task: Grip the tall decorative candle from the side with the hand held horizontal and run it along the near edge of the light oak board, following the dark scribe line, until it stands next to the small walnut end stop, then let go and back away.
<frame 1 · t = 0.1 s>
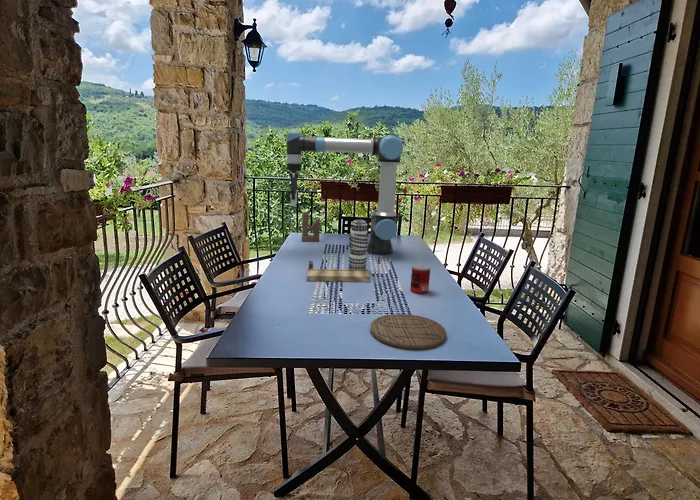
hand: (293, 204, 230), 28 cm above the table, tool pointing down, fingers open, 13 cm apart
oak board: (337, 277, 201), on the table
walnut end stop: (310, 270, 211), on the table
canned food: (419, 291, 188), on the table
decorative candle: (357, 271, 213), on the table
trivet: (407, 334, 146), on the table
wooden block: (310, 241, 271), on the table
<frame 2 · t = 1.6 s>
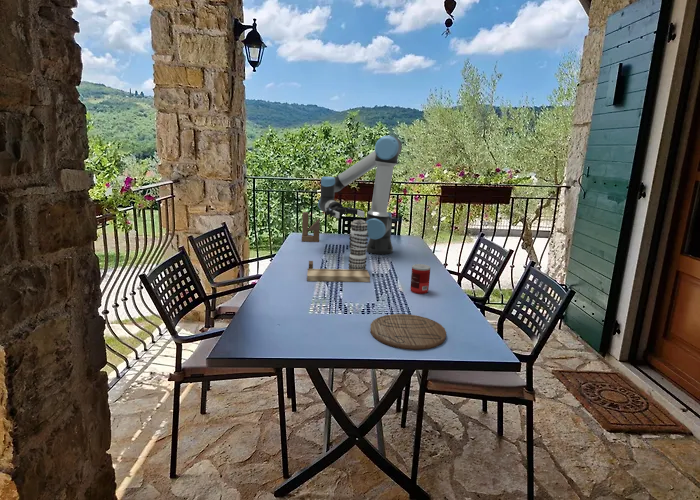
hand: (351, 215, 215), 26 cm above the table, tool horizontal, fingers open, 13 cm apart
nothing on the table moved.
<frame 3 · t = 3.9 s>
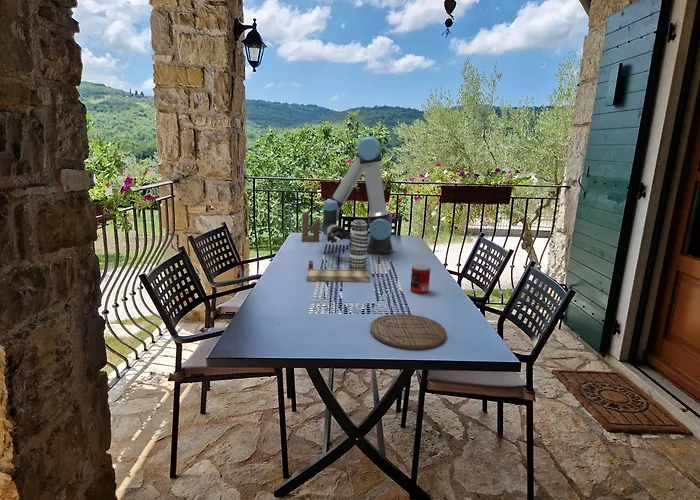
hand: (352, 241, 212), 14 cm above the table, tool horizontal, fingers open, 13 cm apart
nothing on the table moved.
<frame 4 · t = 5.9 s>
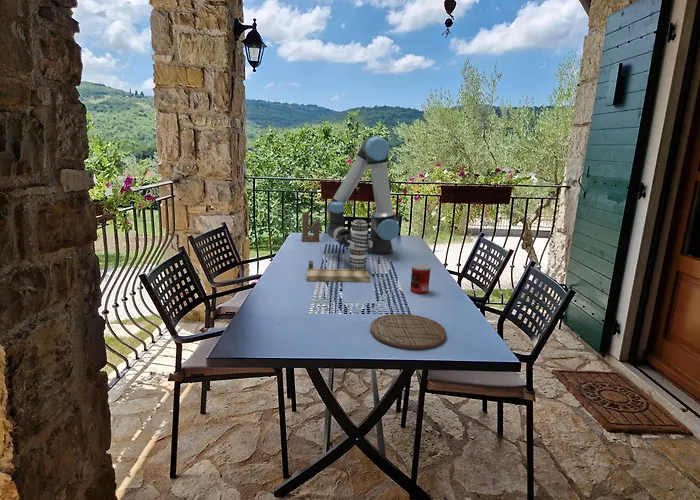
hand: (362, 245, 205), 14 cm above the table, tool horizontal, fingers closed on decorative candle, 9 cm apart
decorative candle: (357, 271, 213), on the table, touching gripper
everything else where it was.
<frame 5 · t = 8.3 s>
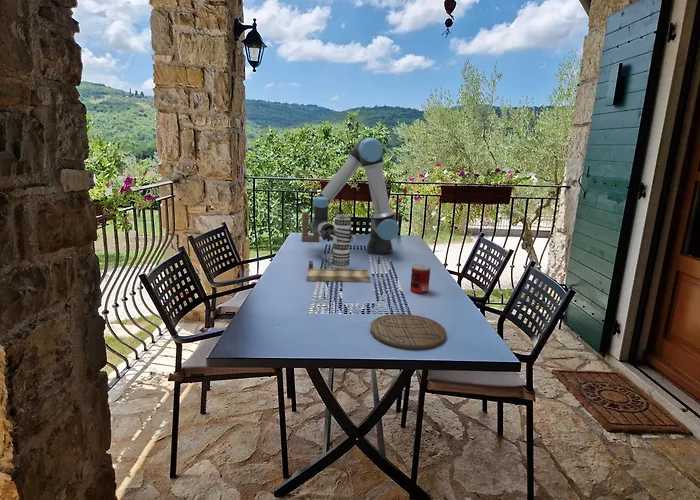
hand: (345, 239, 204), 16 cm above the table, tool horizontal, fingers closed on decorative candle, 9 cm apart
decorative candle: (340, 266, 211), point 2 cm above the table, touching gripper
everything else where it was.
when the fingers open (15 cm above the table, at t = 10.7 s): decorative candle stays where it is, on the table.
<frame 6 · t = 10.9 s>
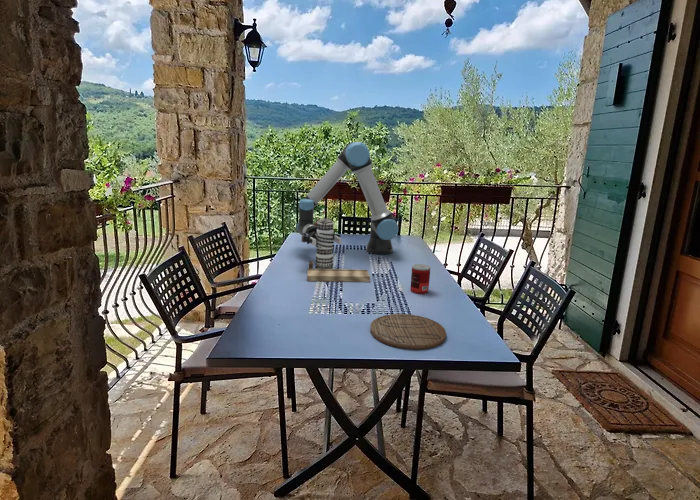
hand: (328, 242, 204), 15 cm above the table, tool horizontal, fingers open, 12 cm apart
decorative candle: (324, 271, 211), on the table
everything else where it was.
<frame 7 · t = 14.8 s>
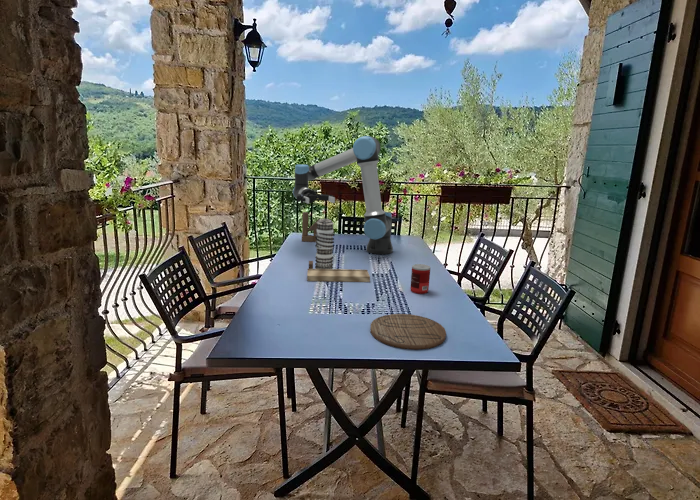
hand: (321, 200, 217), 32 cm above the table, tool horizontal, fingers open, 13 cm apart
nothing on the table moved.
at the end: decorative candle inside the target area (0.6 cm from its centre), on the table; decorative candle tilted 0°; the gripper is holding nothing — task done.
